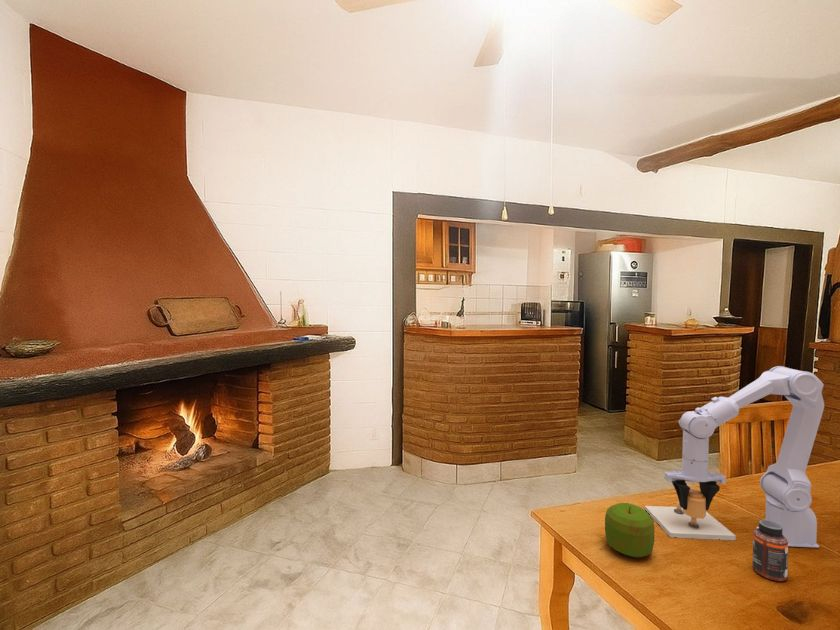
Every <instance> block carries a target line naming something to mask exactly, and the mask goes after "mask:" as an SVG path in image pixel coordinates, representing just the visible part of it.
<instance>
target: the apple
mask: <svg viewBox="0 0 840 630" xmlns="http://www.w3.org/2000/svg"><path fill="white" fill-rule="evenodd" d="M654 522H655V520H654V519H653V518H652V517H651V516H650V515H649V514H648V513H647V512H646V511H645V509H644V508H642V507H640V506H638V505H636V504H633V503H629V502H619V503H615V504H613V505H611V506H609V507H608V508H607V509H606V513H605V516H604V530H605V538H606V539H605V540H606V542H607V544H608V545H609V546H610V547H611V548H612V549H614V550H615V551H617V552H619V553H621V554H622V555H624V556H627V557H629V558H634V559H638V558H643V557H645V556H649V555H650V554H651V553H653V549H654V544H655V523H654Z"/></svg>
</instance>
